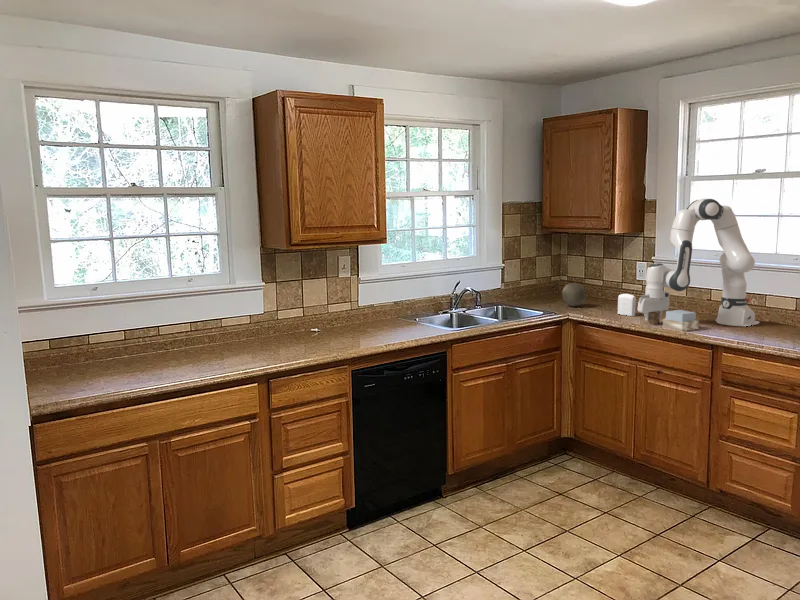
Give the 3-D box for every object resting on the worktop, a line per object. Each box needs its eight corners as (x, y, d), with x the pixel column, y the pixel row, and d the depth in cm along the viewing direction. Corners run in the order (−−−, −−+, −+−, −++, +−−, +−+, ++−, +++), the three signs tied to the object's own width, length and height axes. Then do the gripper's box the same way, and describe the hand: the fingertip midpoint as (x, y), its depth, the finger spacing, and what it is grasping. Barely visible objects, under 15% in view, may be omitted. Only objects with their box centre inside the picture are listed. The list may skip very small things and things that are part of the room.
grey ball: (564, 304, 408) (565, 281, 406) (587, 305, 402) (588, 282, 400) (559, 307, 395) (560, 283, 393) (583, 309, 389) (584, 284, 387)
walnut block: (651, 322, 347) (652, 311, 346) (659, 324, 343) (660, 313, 342) (645, 323, 345) (645, 312, 344) (652, 324, 340) (653, 313, 339)
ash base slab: (678, 326, 338) (679, 316, 338) (698, 330, 328) (698, 320, 327) (662, 328, 333) (663, 318, 332) (682, 332, 322) (682, 322, 322)
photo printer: (616, 314, 371) (617, 293, 370) (620, 313, 374) (621, 292, 372) (632, 316, 364) (633, 295, 362) (636, 316, 366) (637, 294, 364)
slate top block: (679, 317, 336) (679, 309, 336) (695, 320, 328) (696, 312, 327) (665, 318, 332) (666, 311, 331) (682, 322, 323) (682, 314, 322)
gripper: (644, 296, 334) (643, 322, 336) (672, 293, 343) (670, 319, 345) (635, 294, 339) (633, 320, 341) (662, 292, 349) (661, 317, 351)
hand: (652, 319), depth 343 cm, fingers open, 7 cm apart
